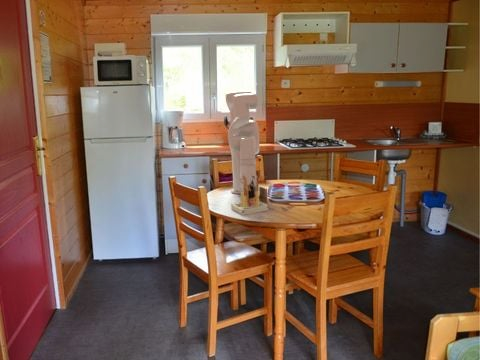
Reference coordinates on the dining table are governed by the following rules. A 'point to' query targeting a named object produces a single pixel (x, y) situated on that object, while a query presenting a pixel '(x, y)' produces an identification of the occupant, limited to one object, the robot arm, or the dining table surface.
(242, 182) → the candy box
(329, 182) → the dining table surface
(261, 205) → the tray
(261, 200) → the holder
